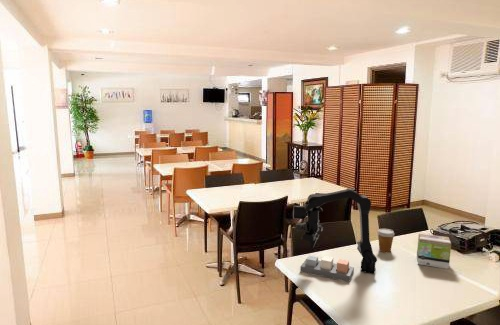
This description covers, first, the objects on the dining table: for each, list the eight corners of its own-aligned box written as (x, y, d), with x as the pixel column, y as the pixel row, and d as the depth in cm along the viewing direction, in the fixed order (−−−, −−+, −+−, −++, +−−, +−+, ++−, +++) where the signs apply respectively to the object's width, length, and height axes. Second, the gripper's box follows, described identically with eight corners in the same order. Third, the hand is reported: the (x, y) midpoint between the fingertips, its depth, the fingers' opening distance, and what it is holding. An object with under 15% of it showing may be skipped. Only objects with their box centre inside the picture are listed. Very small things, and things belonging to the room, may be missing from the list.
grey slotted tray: (353, 272, 180) (353, 267, 179) (349, 282, 170) (349, 276, 170) (306, 263, 191) (306, 258, 190) (300, 271, 181) (300, 266, 181)
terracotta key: (348, 270, 178) (349, 260, 177) (346, 274, 173) (347, 264, 173) (338, 268, 180) (339, 258, 179) (336, 272, 176) (337, 262, 175)
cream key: (333, 267, 181) (333, 257, 181) (330, 270, 177) (331, 261, 176) (323, 265, 184) (323, 256, 183) (320, 269, 179) (321, 259, 178)
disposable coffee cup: (396, 253, 204) (397, 233, 202) (379, 253, 204) (380, 233, 202) (389, 247, 213) (391, 228, 211) (374, 247, 213) (375, 228, 212)
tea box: (417, 265, 189) (419, 238, 186) (416, 257, 198) (418, 232, 196) (449, 269, 183) (451, 242, 181) (446, 262, 192) (448, 236, 190)
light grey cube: (317, 266, 185) (318, 257, 184) (315, 269, 181) (315, 260, 180) (308, 264, 187) (308, 255, 186) (305, 268, 183) (306, 258, 182)
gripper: (303, 212, 192) (302, 239, 194) (292, 222, 175) (291, 251, 178) (323, 215, 187) (322, 242, 189) (313, 225, 170) (312, 255, 173)
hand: (312, 247), depth 182 cm, fingers closed
